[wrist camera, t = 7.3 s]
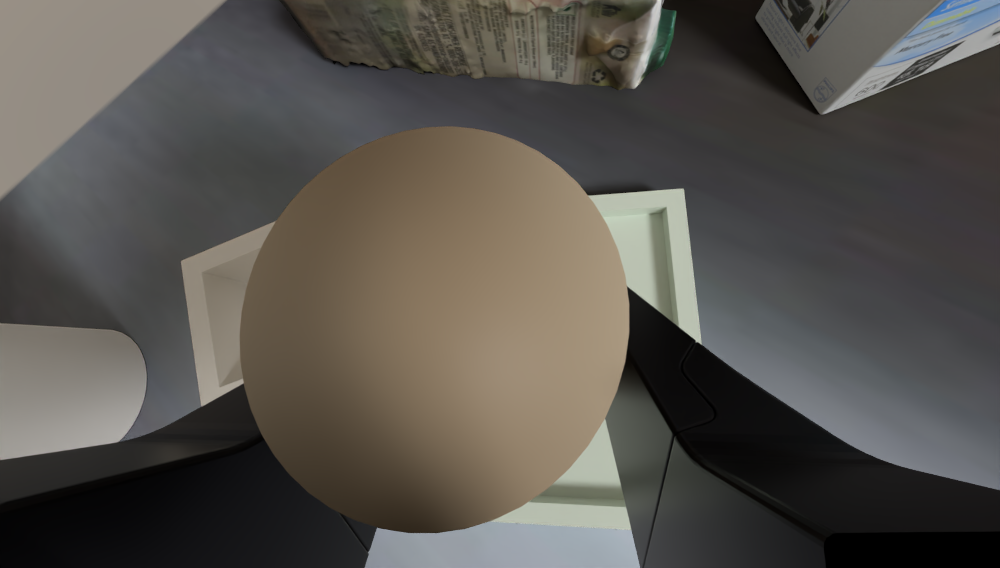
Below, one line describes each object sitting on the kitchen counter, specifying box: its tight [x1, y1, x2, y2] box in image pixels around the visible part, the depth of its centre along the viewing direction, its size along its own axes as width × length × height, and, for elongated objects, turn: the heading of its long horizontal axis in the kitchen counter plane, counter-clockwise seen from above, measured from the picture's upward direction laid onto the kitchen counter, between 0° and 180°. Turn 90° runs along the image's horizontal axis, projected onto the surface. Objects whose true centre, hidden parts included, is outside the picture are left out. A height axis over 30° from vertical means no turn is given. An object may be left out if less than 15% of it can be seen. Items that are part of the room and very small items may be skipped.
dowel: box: [240, 126, 629, 533], centre depth 10 cm, size 4×4×14 cm
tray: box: [489, 189, 702, 530], centre depth 17 cm, size 14×14×2 cm
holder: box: [181, 221, 276, 407], centre depth 18 cm, size 8×8×4 cm
